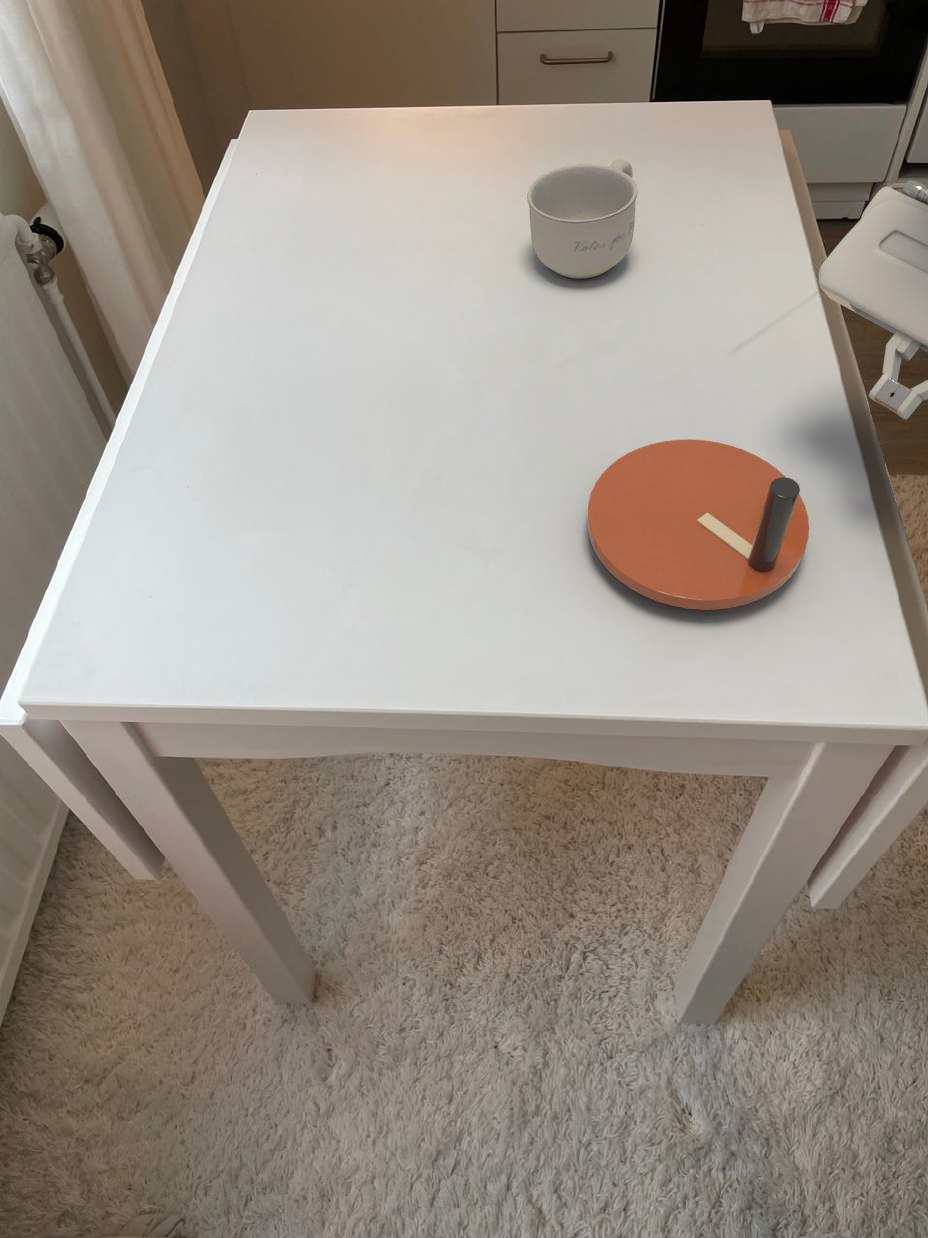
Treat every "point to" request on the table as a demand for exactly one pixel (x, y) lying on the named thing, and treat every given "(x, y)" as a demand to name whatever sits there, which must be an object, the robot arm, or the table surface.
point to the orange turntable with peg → (697, 524)
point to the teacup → (583, 217)
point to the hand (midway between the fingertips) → (886, 408)
